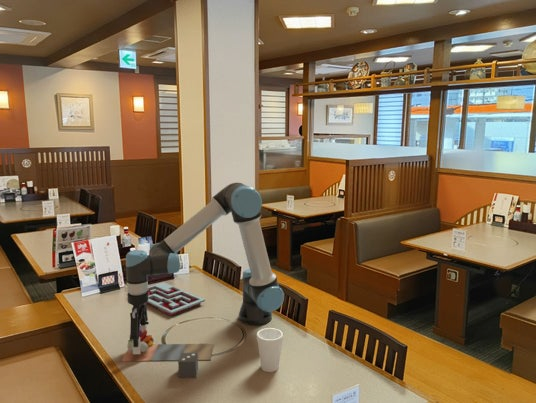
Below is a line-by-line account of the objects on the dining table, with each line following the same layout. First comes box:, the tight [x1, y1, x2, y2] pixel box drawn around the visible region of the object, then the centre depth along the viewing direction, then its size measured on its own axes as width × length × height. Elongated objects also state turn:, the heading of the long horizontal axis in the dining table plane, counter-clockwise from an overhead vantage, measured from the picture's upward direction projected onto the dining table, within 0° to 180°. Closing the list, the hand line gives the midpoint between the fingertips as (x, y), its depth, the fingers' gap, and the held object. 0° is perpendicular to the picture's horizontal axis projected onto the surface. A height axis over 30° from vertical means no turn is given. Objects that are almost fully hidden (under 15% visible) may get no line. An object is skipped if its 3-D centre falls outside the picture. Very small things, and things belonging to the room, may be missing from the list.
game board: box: [121, 343, 215, 362], centre depth 167 cm, size 33×12×1 cm, turn 92°
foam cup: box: [256, 327, 284, 373], centre depth 156 cm, size 10×9×13 cm
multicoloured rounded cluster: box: [127, 330, 155, 352], centre depth 165 cm, size 8×10×7 cm
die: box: [177, 353, 199, 379], centre depth 153 cm, size 6×6×6 cm
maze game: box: [146, 281, 206, 317], centre depth 215 cm, size 35×20×3 cm, turn 48°
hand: (140, 347), depth 166 cm, fingers closed on multicoloured rounded cluster, 9 cm apart
